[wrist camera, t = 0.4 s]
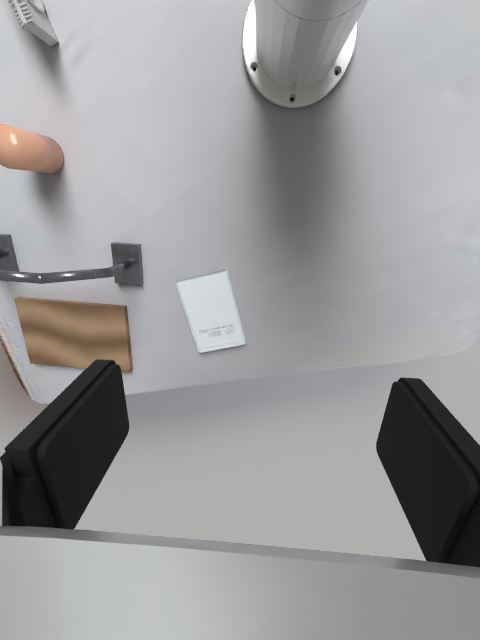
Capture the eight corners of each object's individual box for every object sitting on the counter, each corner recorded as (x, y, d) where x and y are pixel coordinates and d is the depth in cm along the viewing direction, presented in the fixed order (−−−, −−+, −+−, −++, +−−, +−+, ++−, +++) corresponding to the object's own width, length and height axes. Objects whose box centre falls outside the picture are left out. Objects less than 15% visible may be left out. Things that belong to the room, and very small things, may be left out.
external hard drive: (227, 268, 45) (246, 340, 49) (177, 280, 46) (199, 349, 50) (226, 271, 43) (246, 344, 48) (174, 283, 45) (198, 353, 49)
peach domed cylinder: (28, 135, 39) (-18, 123, 33) (60, 137, 39) (21, 125, 32) (35, 172, 41) (-7, 167, 34) (66, 174, 41) (29, 169, 34)
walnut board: (19, 297, 48) (14, 299, 47) (126, 305, 48) (123, 308, 47) (34, 360, 53) (30, 363, 52) (132, 369, 52) (130, 372, 51)
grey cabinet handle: (-16, 232, 45) (-103, 243, 34) (140, 244, 44) (101, 259, 33) (-5, 271, 47) (-84, 293, 36) (143, 283, 46) (107, 309, 35)
